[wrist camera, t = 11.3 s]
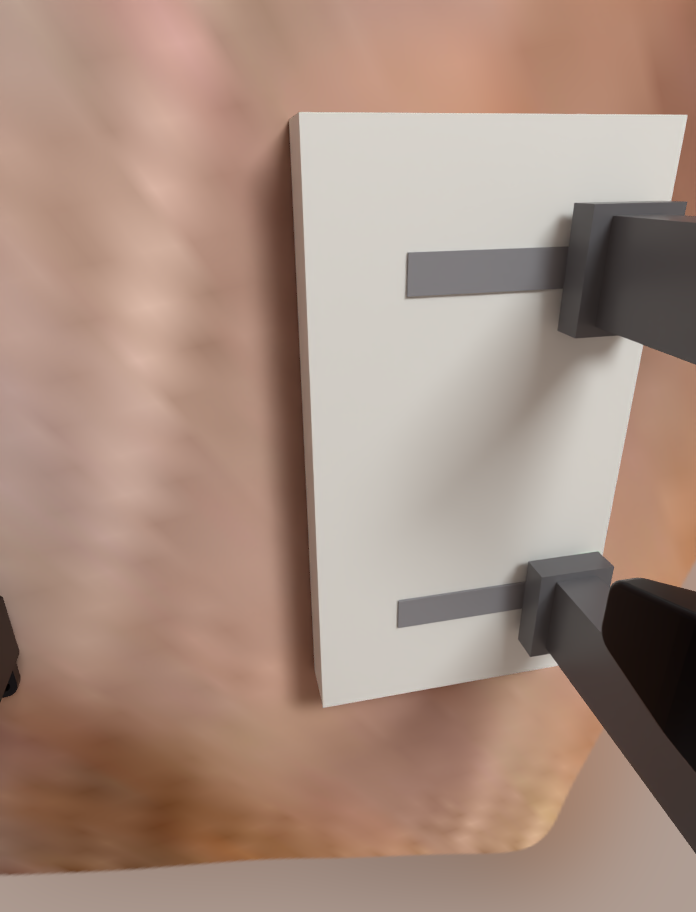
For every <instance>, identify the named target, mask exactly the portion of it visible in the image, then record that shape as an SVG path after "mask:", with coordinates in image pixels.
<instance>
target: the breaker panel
mask: <svg viewBox="0 0 696 912" xmlns="http://www.w3.org/2000/svg"><path fill="white" fill-rule="evenodd" d="M687 116H688V115H633V114H490V113H347V112H299V113H297V114H296V115H294V116H293V117H292V118H290V119H289V132H290V154H291V175H292V196H293V218H294V239H295V261H296V282H297V304H298V325H299V347H300V368H301V390H302V411H303V433H304V454H305V475H306V497H307V518H308V540H309V561H310V583H311V604H312V626H313V647H314V669H315V674H316V679H317V683H318V688H319V692H320V697H321V701H322V706H323V708H325V707H330V706H336V705H342V704H347V703H353V702H358V701H364V700H369V699H375V698H381V697H386V696H392V695H397V694H403V693H408V692H414V691H420V690H425V689H431V688H436V687H442V686H447V685H453V684H459V683H464V682H470V681H475V680H481V679H486V678H492V677H498V676H503V675H509V674H514V673H520V672H525V671H531V670H537V669H542V668H548V667H553V666H559V665H558V664H557V663H556V661H555V660H554V659H553V657H552V656H551V654H546V655H540V656H534V657H530V656H529V655H528V653H527V652H526V650H525V649H524V647H523V646H522V644H521V643H520V641H519V640H518V635H519V627H520V620H521V612H522V605H523V597H524V590H525V582H526V575H527V567H528V561H534V560H541V559H548V558H555V557H562V556H569V555H576V554H583V553H590V552H597V551H598V552H599V553H600V554H601V555H603V550H604V545H605V539H606V534H607V529H608V524H609V519H610V514H611V508H612V503H613V498H614V493H615V488H616V483H617V477H618V472H619V467H620V462H621V457H622V452H623V446H624V441H625V436H626V431H627V426H628V421H629V415H630V410H631V405H632V400H633V395H634V390H635V384H636V379H637V374H638V369H639V364H640V359H641V353H642V348H643V345H642V344H640V343H637V342H634V341H632V340H629V339H626V338H624V337H621V336H604V337H589V338H573V337H571V336H568V335H566V334H564V333H561V332H559V331H557V330H558V322H559V315H560V307H561V300H562V292H563V285H564V277H565V270H566V262H567V254H568V247H569V239H570V232H571V224H572V217H573V209H574V203H585V202H628V201H671V199H672V193H673V188H674V183H675V178H676V173H677V168H678V162H679V157H680V152H681V147H682V142H683V137H684V131H685V126H686V121H687Z"/></svg>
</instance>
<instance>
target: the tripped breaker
mask: <svg viewBox="0 0 696 912" xmlns="http://www.w3.org/2000/svg"><path fill="white" fill-rule="evenodd" d="M613 569H614V566H613V565H612V564H611V563H610V562H609V561H607V560H606V559H605V558H604V557H603V556H602V555H601V554H600V553H599V552H598V551H597V552H590V553H583V554H576V555H569V556H562V557H555V558H548V559H541V560H534V561H528V567H527V575H526V582H525V590H524V597H523V605H522V612H521V620H520V627H519V635H518V640H519V641H520V643H521V644H522V646H523V647H524V649H525V650H526V652H527V653H528V655H529V656H530V657H534V656H540V655H546V654H551V656H552V657H553V659H554V660H555V661H556V663H557V664H558V665H559V667H560V668H561V670H562V671H563V672H564V674H565V675H566V676H567V678H568V679H569V681H570V682H571V683H572V685H573V686H574V687H575V689H576V690H577V691H578V693H579V694H580V696H581V697H582V698H583V700H584V701H585V702H586V704H587V705H588V707H589V708H590V709H591V711H592V712H593V713H594V715H595V716H596V718H597V719H598V720H599V722H600V723H601V724H602V726H603V727H604V728H605V730H606V731H607V733H608V734H609V735H610V737H611V738H612V739H613V741H614V742H615V744H616V745H617V746H618V748H619V749H620V750H621V752H622V753H623V754H624V756H625V757H626V759H627V760H628V761H629V763H630V764H631V765H632V767H633V768H634V770H635V771H636V772H637V774H638V775H639V776H640V778H641V779H642V781H643V782H644V783H645V784H646V786H647V787H648V789H649V790H650V791H651V793H652V794H653V796H654V797H655V798H656V800H657V801H658V802H659V804H660V805H661V807H662V808H663V809H664V811H665V812H666V813H667V815H668V816H669V817H670V819H671V820H672V822H673V823H674V824H675V826H676V827H677V828H678V830H679V831H680V833H681V834H682V835H683V836H684V838H685V839H686V841H687V842H688V843H689V845H690V846H691V848H692V849H693V850H694V852H695V853H696V773H695V772H694V771H693V770H692V768H691V767H690V766H689V765H688V763H687V762H686V761H685V760H684V759H683V757H682V756H681V755H680V754H679V752H678V751H677V750H676V749H675V747H674V746H673V745H672V744H671V742H670V741H669V740H668V738H667V737H666V736H665V735H664V733H663V732H662V730H661V729H660V728H659V726H658V725H657V723H656V722H655V721H654V719H653V718H652V716H651V715H650V713H649V712H648V710H647V709H646V707H645V706H644V704H643V703H642V701H641V700H640V698H639V697H638V695H637V694H636V692H635V691H634V689H633V688H632V686H631V685H630V683H629V682H628V680H627V679H626V677H625V676H624V674H623V673H622V671H621V670H620V668H619V667H618V665H617V664H616V662H615V661H614V659H613V658H612V656H611V655H610V653H609V652H608V650H607V648H606V647H605V644H604V642H603V639H602V633H601V626H602V621H603V616H604V611H605V607H606V602H607V597H608V593H609V589H610V584H611V579H612V574H613Z"/></svg>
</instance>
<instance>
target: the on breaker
mask: <svg viewBox="0 0 696 912" xmlns="http://www.w3.org/2000/svg"><path fill="white" fill-rule="evenodd" d="M686 205H687V202H680V201H628V202H585V203H574V209H573V217H572V224H571V232H570V239H569V247H568V254H567V262H566V270H565V277H564V285H563V292H562V300H561V307H560V315H559V322H558V330H557V331H559V332H561V333H564V334H566V335H568V336H571V337H573V338H589V337H604V336H621V337H624V338H626V339H629V340H632V341H634V342H637V343H640V344H642V345H645V346H648V347H650V348H653V349H656V350H658V351H661V352H664V353H666V354H669V355H672V356H674V357H677V358H680V359H682V360H685V361H688V362H690V363H693V364H696V216H684V215H685V210H686Z"/></svg>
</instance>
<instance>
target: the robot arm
mask: <svg viewBox="0 0 696 912" xmlns="http://www.w3.org/2000/svg"><path fill="white" fill-rule="evenodd" d="M601 633H602V639H603V642H604V644H605V647H606V648H607V650H608V652H609V653H610V655H611V656H612V658H613V659H614V661H615V662H616V664H617V665H618V667H619V668H620V670H621V671H622V673H623V674H624V676H625V677H626V679H627V680H628V682H629V683H630V685H631V686H632V688H633V689H634V691H635V692H636V694H637V695H638V697H639V698H640V700H641V701H642V703H643V704H644V706H645V707H646V709H647V710H648V712H649V713H650V715H651V716H652V718H653V719H654V721H655V722H656V723H657V725H658V726H659V728H660V729H661V730H662V732H663V733H664V735H665V736H666V737H667V738H668V740H669V741H670V742H671V744H672V745H673V746H674V747H675V749H676V750H677V751H678V752H679V754H680V755H681V756H682V757H683V759H684V760H685V761H686V762H687V763H688V765H689V766H690V767H691V768H692V770H693V771H694V772H695V773H696V592H695V591H692V590H688V589H684V588H680V587H676V586H672V585H668V584H664V583H660V582H656V581H653V580H649V579H645V578H632V579H625V580H619V581H616V582H614V583H613V584H612V585H611V587H610V589H609V593H608V597H607V602H606V607H605V611H604V616H603V621H602V626H601ZM18 655H19V649H18V646H17V642H16V639H15V636H14V633H13V629H12V626H11V623H10V620H9V616H8V613H7V610H6V607H5V603H4V600H3V597H1V596H0V701H1V699H2V698H4V697H8V696H11V695H12V694H14V693H15V692H16V690H17V688H18V686H19V683H20V674H19V670H18V667H17V664H16V661H17V658H18Z"/></svg>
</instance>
